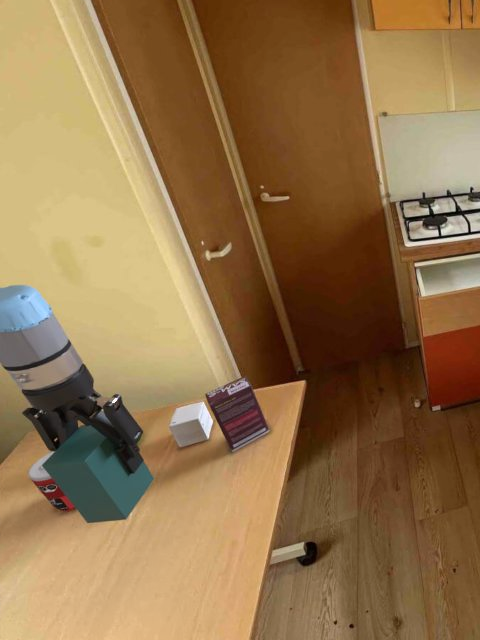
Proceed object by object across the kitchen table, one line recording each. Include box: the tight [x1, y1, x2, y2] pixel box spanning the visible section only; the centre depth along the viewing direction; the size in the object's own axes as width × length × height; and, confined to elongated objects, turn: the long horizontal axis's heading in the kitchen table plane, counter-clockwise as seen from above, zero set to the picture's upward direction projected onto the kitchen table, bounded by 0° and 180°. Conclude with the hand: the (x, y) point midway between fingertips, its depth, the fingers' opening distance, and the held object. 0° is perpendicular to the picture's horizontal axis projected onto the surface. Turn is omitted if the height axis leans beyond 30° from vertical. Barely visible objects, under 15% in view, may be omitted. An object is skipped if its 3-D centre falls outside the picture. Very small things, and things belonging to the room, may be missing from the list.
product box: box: [168, 401, 214, 448], centre depth 102 cm, size 6×6×7 cm
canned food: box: [27, 451, 77, 513], centre depth 88 cm, size 8×8×11 cm
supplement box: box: [204, 375, 270, 453], centre depth 100 cm, size 9×5×16 cm, turn 135°
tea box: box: [42, 424, 155, 524], centre depth 76 cm, size 6×16×8 cm
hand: (116, 468), depth 78 cm, fingers closed on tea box, 6 cm apart
